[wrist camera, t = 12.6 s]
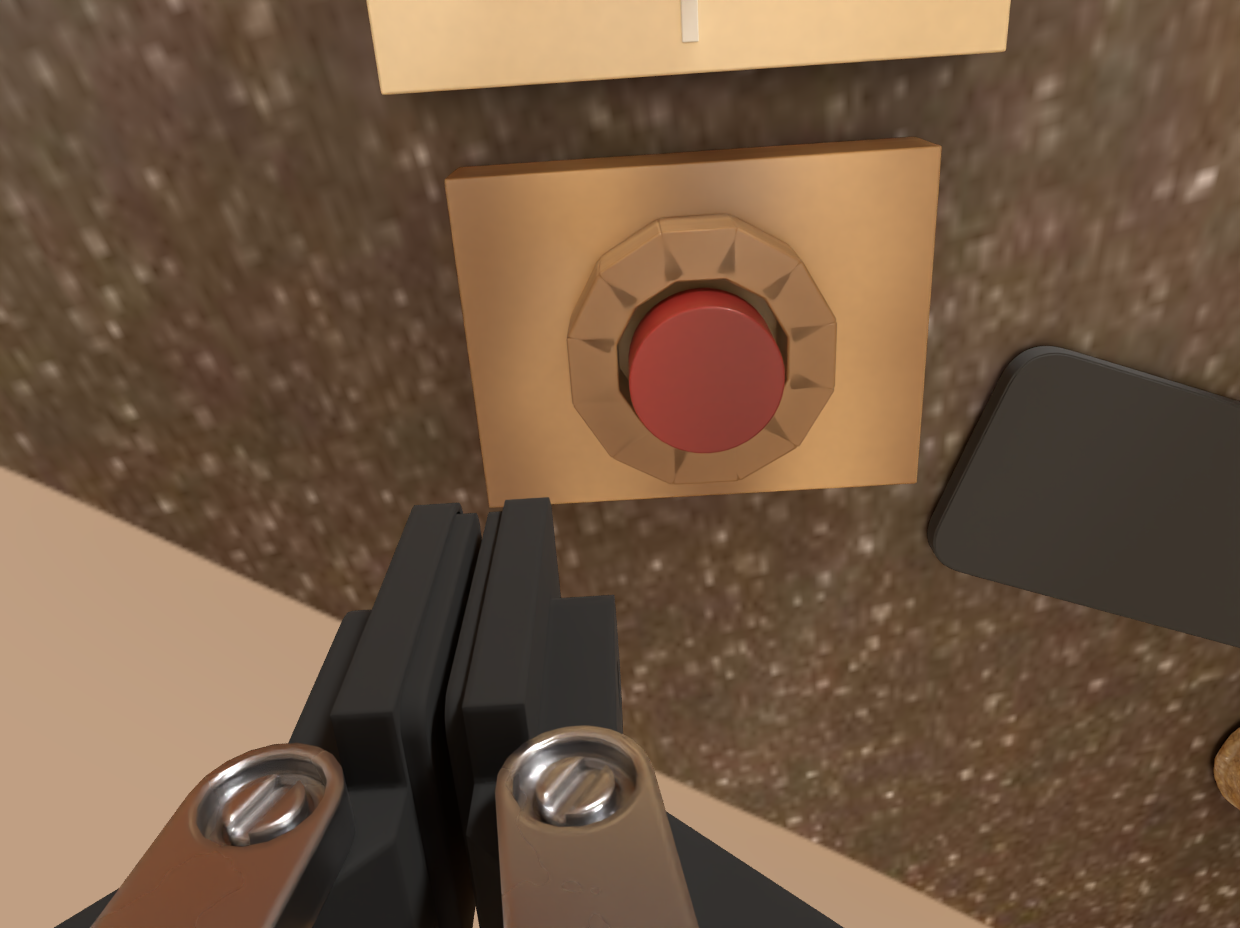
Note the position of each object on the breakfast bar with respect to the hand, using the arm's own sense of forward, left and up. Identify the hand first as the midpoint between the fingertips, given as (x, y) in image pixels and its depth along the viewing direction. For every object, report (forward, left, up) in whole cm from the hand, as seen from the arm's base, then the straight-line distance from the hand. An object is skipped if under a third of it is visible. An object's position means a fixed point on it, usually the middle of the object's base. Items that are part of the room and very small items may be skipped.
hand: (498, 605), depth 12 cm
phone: (+18, -8, -16) cm, 26 cm away
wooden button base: (+3, -1, -16) cm, 16 cm away
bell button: (+3, -1, -12) cm, 13 cm away
